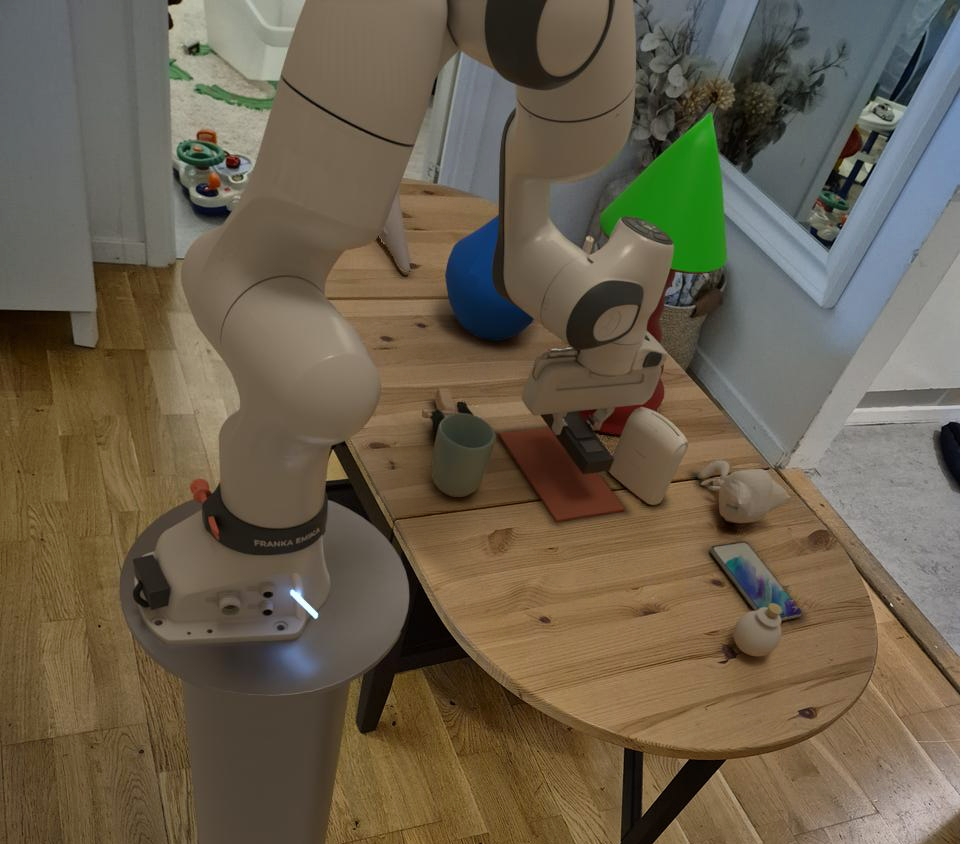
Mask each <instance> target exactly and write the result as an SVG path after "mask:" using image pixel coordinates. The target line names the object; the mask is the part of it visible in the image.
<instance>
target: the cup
mask: <svg viewBox="0 0 960 844" xmlns="http://www.w3.org/2000/svg"><path fill="white" fill-rule="evenodd" d="M435 436H436V437H435V439H434V446H433V452H432V457H431V466H430V467H431V476H432V481H433V483H434V485H435V486H436V487H437V489H438V490H439V491H440V492H442V493H444V494H445V495H447V496H449V497H453V498H464V497H467V496H469V495H471V494H473V493H474V492H475V491H476V490H477V489H478V488H479V487H480V486H481V484H482V482H483V480H484V478H485V475H486V473H487V471H488V467H489V464H490V461H491V459H492V458H491V457H492V454H493V450H494V446H495V443H496V433H495V430H494V428H493V427H492V426H491V425H490V423H488V422H487V421H486V420H484V419H482V418H481V417H480V416H479V417H478V416H477V415H474V414H473V415H472V414H467V413H458V412H457V413H456V414H452V415H449V416H447V417H445V418H444V419H443V420H442V421H441V422H440V424H439V427H438V431H437V435H435Z"/></svg>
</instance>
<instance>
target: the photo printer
mask: <svg viewBox="0 0 960 844" xmlns="http://www.w3.org/2000/svg"><path fill="white" fill-rule="evenodd" d="M688 448H689V441H688V440H687V438H686V436H685V435H684V433H682V431H681V430H680V429H679V428H678V427H677V426H676V424H674V423H673V422H672V421H671V420H669V418H667V417H666V416H664V415H663V414H661V413H659V412H658V411H657V412H655V411H653V410H651V409H648V408H644V407H640V408H638V409H635V410H634V411H633V412H632V414H631V415H630V416H629V418H628V420H627V422H626V424H625V427H624V429H623V432H622V434H621V435H620V436H619V440H618V441H617V444H616V447H615V449H614V452H613V454H612V457H613V458H614V461H613V463H612V466H611V468H610V470H609V471H608V473H609V474H610V475H611V476H612V477H614V478H615V479H616V480H617V481H618V482H619V483H621V484H622V485H623V486H624V487H625V488H626V489H628V490H629V491H630V492H632V493H633V494H634V495H635V496H636V497H638V498H639V499H640V500H642V501H643V502H644V503H646V504H648V505H650V506H656V505H659V504H661V503H662V501H663V499H664V498H665V495H666V494H667V492H668V490H669V488H670V486H671V483H672V481H673V479H674V477H675V475H676V473H677V471H678V469H679V467H680V465H681V463H682V461H683V459H684V456H685V455H686V452H687V450H688Z"/></svg>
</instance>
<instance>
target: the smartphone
mask: <svg viewBox="0 0 960 844" xmlns="http://www.w3.org/2000/svg"><path fill="white" fill-rule="evenodd" d="M709 553H710V554H711V555H712V556H713V558H714V559H715V561H716V562H717V563H718V564H719V566H720V567H721V569H722V570H723V571H724V573H726V575H727V576H728V578H729V579H730V580H731V581H732V583H733V584H734V585H735V587H736V589H738V591H739V592H740V594H741V596H742V597H743V598H744V599H745V600H746V602H747V603H748V604H749V605H750V607H751V608H752V610H753V611H758V609H760V608H762V607H766V608H768V607H769V604H771V603H775V604H778V605H779V606H780V607H781V608H782V613H780V614H779V616H780V618H781V622H784V621H789V620H793V619H797V618H798V619H799V618H800V617H801V616H802V615H803V610H802V609H801V607H800V608H797V609H796V608H792V607H795V606H798V604H797V603H796V601H793V602H792V601H790V600H793V599H794V598H792V597H791V595H790V594H789V593H788V591H787V590H786V589H785V588H784V587H783V586H782V584H781V583H780V582H779V580H778V579H777V578H776V576H775V575H774V573H772V572H771V570H770V569H769V568H768V566H767V565H766V564H765V563H764V561H763V560H762V559H761V558H760V557H759V555H758V553H756V552H755V550H754V549H753V548H752V546H751V545H750V544H749V543H748V542H747V541H742V540H741V541H736V542H729V543H723V544H716V545H712V546H711V547H710V548H709ZM791 602H792V603H791ZM795 609H796V610H795ZM786 616H787V617H786ZM785 617H786V619H782V618H785Z"/></svg>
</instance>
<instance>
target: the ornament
mask: <svg viewBox="0 0 960 844" xmlns="http://www.w3.org/2000/svg"><path fill="white" fill-rule="evenodd" d="M796 598H797V597H796V596H795V597H794V598H792V599H793V600H790V601H792V602H793V601H794V602H797V601H798V599H796ZM792 602H791V603H792ZM801 604H802V602H800V603H798V604H797V606H795V607H792V608H796V609H797V608H800V609H801V608H803V607H804V605H801ZM796 609H795V610H796ZM780 613H782V608H781V607H780V606H779V605H778V604H775V603H771V604H769V607H768V608H766V607H762V608H760V609H758V611H754V610H751V611H747V612H746V613H744V614H742V615H741V616H740V617H739V618H738V619H737V620H736V622H735V624H734V626H733V629H732V635H733V641H734V643H735V645H736V647H737V648H738V649H739V650H740V651H741V652H743V653H744V654H746V655H748V656H751V657H763V656H767V655H769V654H770V653H773V652H774V651H775V650H776V649H777V648H778V647H779V645H780V642H781V640H782V636H783V635H782V633H783V632H782V626H781V624H782V621H781V618H780V616H779V614H780ZM786 617H787V616H786ZM786 617H785V618H782V619H786Z"/></svg>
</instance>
